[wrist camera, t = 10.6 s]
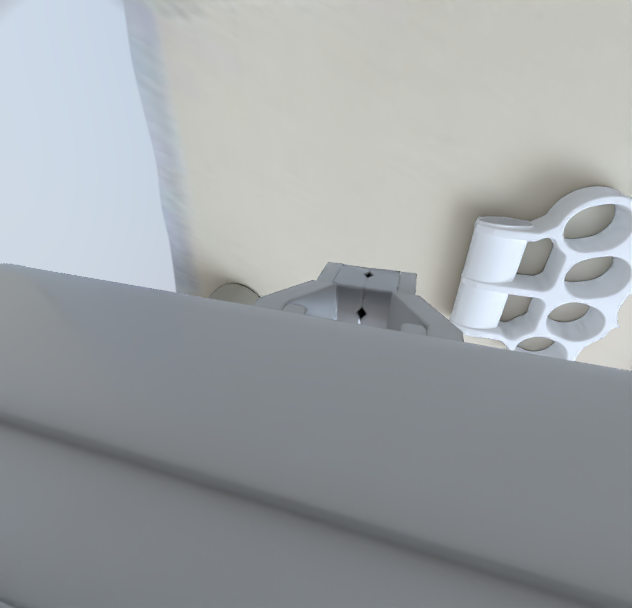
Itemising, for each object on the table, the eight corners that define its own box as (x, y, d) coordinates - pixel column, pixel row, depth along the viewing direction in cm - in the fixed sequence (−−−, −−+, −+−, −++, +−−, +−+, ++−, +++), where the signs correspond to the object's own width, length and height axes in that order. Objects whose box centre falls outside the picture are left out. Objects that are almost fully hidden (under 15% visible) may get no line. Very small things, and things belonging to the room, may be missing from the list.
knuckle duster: (484, 177, 30) (683, 191, 27) (442, 340, 40) (586, 365, 36) (490, 185, 28) (712, 202, 24) (442, 358, 37) (598, 387, 34)
